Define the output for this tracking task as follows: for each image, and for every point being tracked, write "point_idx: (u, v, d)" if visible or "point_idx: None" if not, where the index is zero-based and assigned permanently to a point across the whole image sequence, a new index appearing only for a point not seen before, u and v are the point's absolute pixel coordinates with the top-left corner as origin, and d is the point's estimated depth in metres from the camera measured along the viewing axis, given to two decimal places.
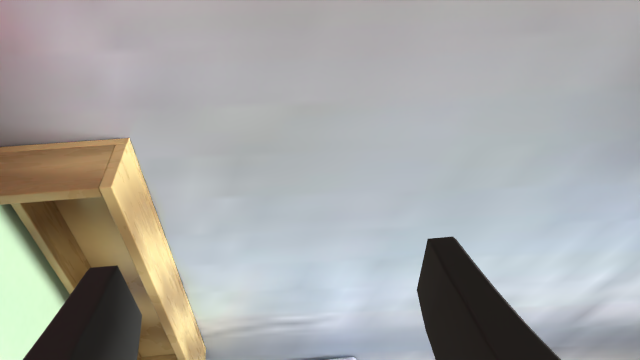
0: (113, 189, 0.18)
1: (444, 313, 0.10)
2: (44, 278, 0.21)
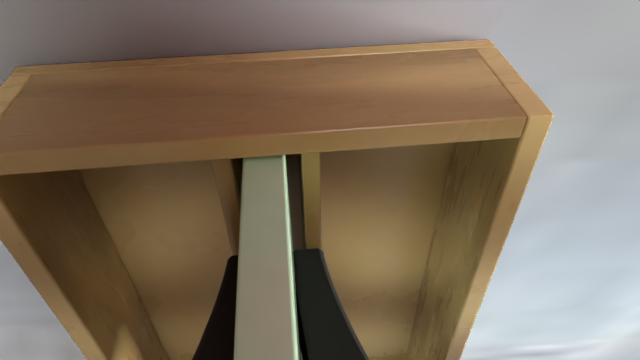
0: (550, 122, 0.08)
1: (300, 327, 0.10)
2: None
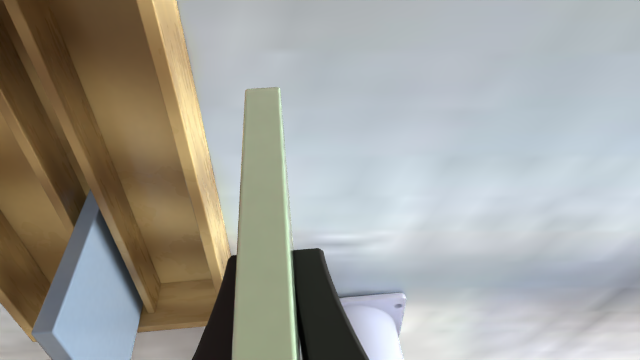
0: None
1: (300, 327, 0.10)
2: None
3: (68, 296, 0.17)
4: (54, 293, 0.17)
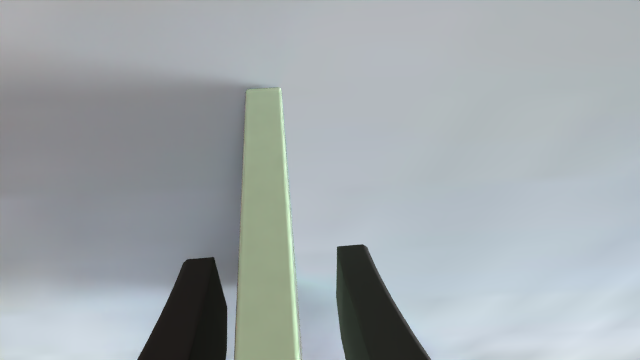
0: None
1: (347, 322, 0.10)
2: None
3: None
4: None
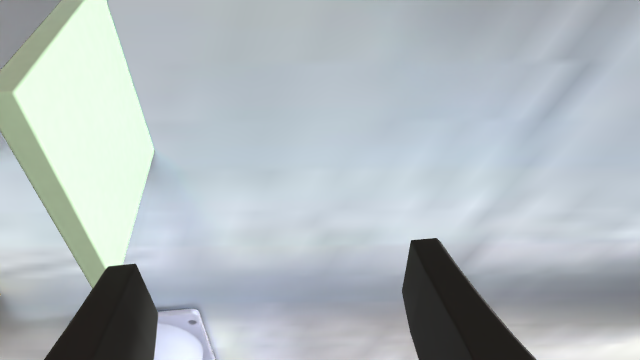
0: None
1: (426, 315, 0.10)
2: (127, 136, 0.17)
3: None
4: None
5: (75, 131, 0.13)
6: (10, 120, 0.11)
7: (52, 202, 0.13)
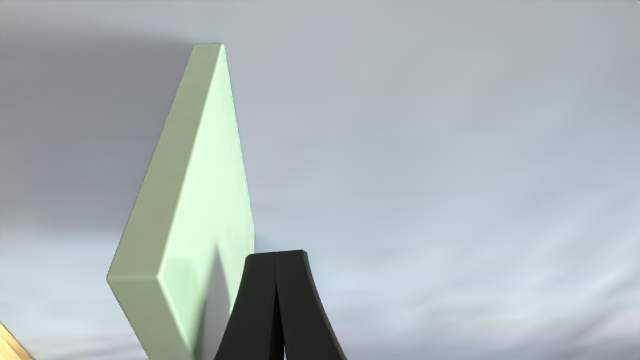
0: None
1: None
2: (240, 236, 0.14)
3: None
4: None
5: (208, 275, 0.09)
6: (144, 308, 0.07)
7: None
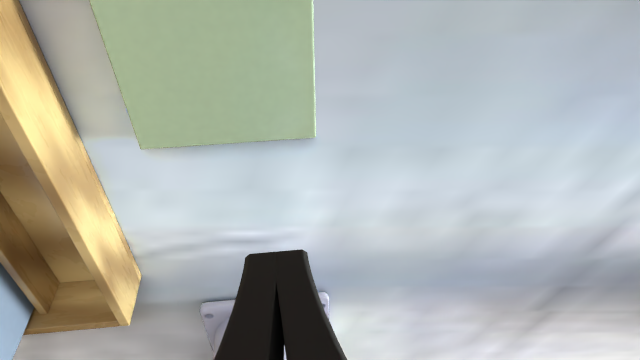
0: None
1: (282, 328, 0.10)
2: (254, 90, 0.18)
3: None
4: None
5: (150, 30, 0.16)
6: None
7: None
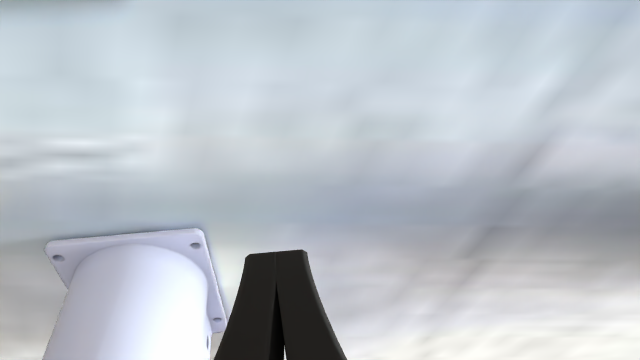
0: None
1: None
2: None
3: None
4: None
5: None
6: None
7: None
